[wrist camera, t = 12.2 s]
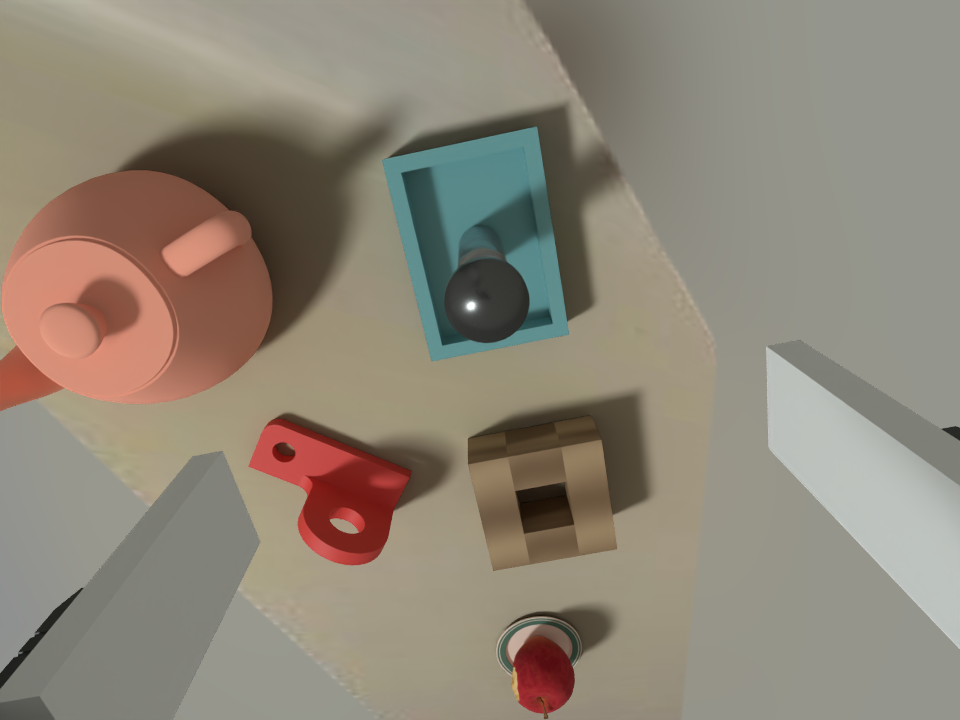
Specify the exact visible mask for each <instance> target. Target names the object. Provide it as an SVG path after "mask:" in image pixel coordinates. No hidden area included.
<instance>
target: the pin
mask: <svg viewBox="0 0 960 720" xmlns="http://www.w3.org/2000/svg"><path fill="white" fill-rule="evenodd" d="M529 305H530V298H529V292H528V288H527V286H526V283H525V281H524V279H523V277H522V275H521V274H520V273H519V271H518V270H517V269H516V268H515V267H513V266H512V265H511V264H509V263H508V261H507V258H506V255H505V252H504V249H503V246H502V243H501V240H500V237H499V235H498V234H497V233H496V232H495V231H494V230H493V229H492V228H490V227H488V226H484V225H477V226H473V227H471V228H469V229H468V230H466V231H465V232H464V234H463V235H462V237H461V239H460V242H459V252H458V266H457V270H456V271H455V272H454V273H453V274H452V276H451V278H450V279H449V281H448V284H447V287H446V291H445V299H444V306H445V312H446V315H447V318H448V320H449V322H450V323H451V325H452V326H453V328H454V329H455V330H456V331H457V332H458V333H459V334H461V335H462V336H463V337H465V338H467V339H469V340H472V341H475V342H479V343H494V342H498V341H501V340H504V339H506V338H508V337H510V336H511V335H513V334H514V333H515V332H516V331H517V330H518V329H519V328H520V327H521V326H522V324H523V323H524V321H525V319H526V317H527V314H528V311H529Z"/></svg>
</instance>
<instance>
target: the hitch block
mask: <svg viewBox="0 0 960 720" xmlns="http://www.w3.org/2000/svg"><path fill="white" fill-rule="evenodd" d="M468 466H469V471H470V475H471V479H472V483H473V487H474V492H475V496H476V500H477V504H478V508H479V512H480V517H481V521H482V525H483V529H484V533H485V538H486V542H487V546H488V550H489V554H490V558H491V563H492V567H493V571H495V570H501V569H507V568H512V567H518V566H524V565H529V564H535V563H541V562H546V561H552V560H558V559H563V558H569V557H575V556H580V555H586V554H592V553H597V552H603V551H609V550H615V549H617V544H616V537H615V530H614V523H613V516H612V509H611V502H610V495H609V488H608V481H607V474H606V467H605V460H604V453H603V446H602V440H601V437H600V435H599V433H598V430H597V428H596V426H595V424H594V421H593V419H592V417H591V416H585V417H580V418H575V419H570V420H564V421H559V422H554V423H548V424H543V425H538V426H532V427H527V428H522V429H516V430H511V431H506V432H500V433H495V434H490V435H484V436H479V437H474V438H469V439H468ZM562 482H564V484H565V490H566V496H561V497H555V498H550V499H544V500H539V501H533V502H528V503H522V504H520V503H519V498H518V494H517V491H518V490H523V489H529V488H534V487H540V486H545V485H551V484H556V483H562Z"/></svg>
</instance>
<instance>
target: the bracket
mask: <svg viewBox="0 0 960 720" xmlns="http://www.w3.org/2000/svg"><path fill="white" fill-rule="evenodd" d="M280 442H285V443H288V444H290V445H291V446H292V447H293V448H294V449H295V454H294V455H292V456H285V455H283V454H281V453H280V452H279V451H278V450H277V448H276V444H277V443H280ZM248 467H251V468H253V469H256V470H259V471H261V472H264V473H266V474H269V475H272V476H274V477H277V478H280V479H282V480H285V481H287V482H290V483H293V484H295V485H298V486H300V487H302V488H303V489H304V490H305V491H306V493H307V500H306V502H305V504H304V506H303V509H302V511H301V513H300V516H299V518H298V529H299V533H300V535H301V537H302V539H303V540H304V541H305V543H306V544H307V545H308V546H309V547H310V548H311V549H312V550H313V551H314V552H316V553H317V554H319V555H320V556H322V557H324V558H326V559H328V560H330V561H333V562H336V563H339V564H345V565H361V564H365V563H368V562H371V561H372V560H374V559H375V558H377V557H378V556H379V554H380V553H381V551H382V549H383V547H384V545H385V543H386V541H387V539H388V535H389V530H390V525H391V520H392V515H393V510H394V508H395V506H396V504H397V502H398V500H399V498H400V496H401V494H402V492H403V490H404V488H405V486H406V484H407V483H408V481H409V479H410V475H411V471H410V470H408V469H405V468H403V467H400V466H398V465H395V464H393V463H390V462H388V461H385V460H383V459H380V458H378V457H375V456H373V455H370V454H368V453H365V452H363V451H360V450H358V449H355V448H353V447H350V446H348V445H346V444H343V443H341V442H338V441H336V440H333V439H331V438H328V437H326V436H323V435H321V434H318V433H316V432H313V431H311V430H308V429H306V428H303V427H301V426H298V425H296V424H293V423H291V422H288V421H286V420H283V419H274V420H272V421H270V422H269V423H268V424H267V426H266V427H265V428H264V430H263V432H262V434H261V436H260V439H259V441H258V444H257V446H256V449H255V451H254V454H253V456H252V459H251V461H250V464H249V466H248ZM333 518H339V519H344V520H346V521H348V522H350V523H352V524H353V525H354V526H355V527H356V528H357V530H358V532H359V533H356V534H349V533H345V532H342V531H340V530H338V529H337V528H335V527H334V526H333V525H332V524H331V522H330V520H329V519H333Z"/></svg>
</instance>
